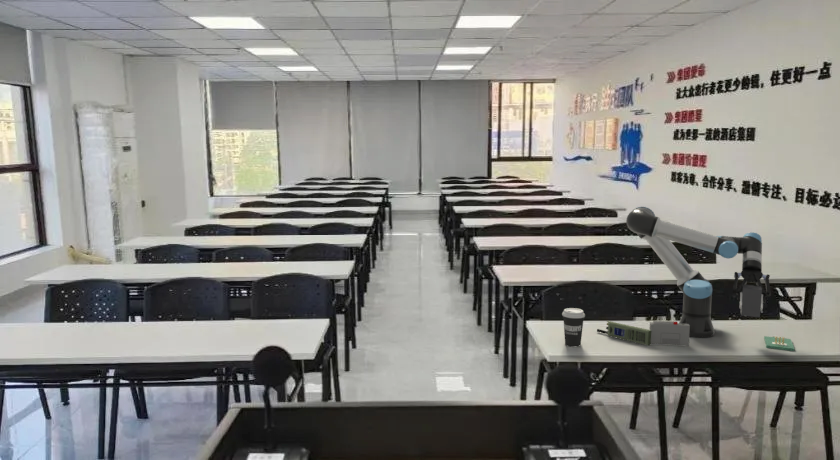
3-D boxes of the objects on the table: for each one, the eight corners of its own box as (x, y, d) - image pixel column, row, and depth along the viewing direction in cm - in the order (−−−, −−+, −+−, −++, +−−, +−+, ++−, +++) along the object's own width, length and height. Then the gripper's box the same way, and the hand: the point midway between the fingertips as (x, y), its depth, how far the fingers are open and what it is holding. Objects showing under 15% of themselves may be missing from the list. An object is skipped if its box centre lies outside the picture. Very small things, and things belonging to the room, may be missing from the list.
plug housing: (741, 315, 255) (743, 287, 253) (740, 311, 261) (742, 284, 260) (759, 317, 252) (762, 289, 250) (758, 313, 258) (760, 286, 256)
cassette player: (687, 344, 257) (688, 321, 256) (688, 346, 255) (689, 323, 253) (648, 342, 260) (649, 320, 259) (650, 344, 257) (651, 321, 256)
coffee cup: (556, 342, 260) (557, 309, 258) (574, 339, 264) (575, 306, 262) (570, 349, 252) (571, 314, 250) (588, 346, 255) (589, 311, 253)
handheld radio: (647, 346, 255) (595, 333, 273) (651, 345, 257) (598, 332, 275) (648, 331, 254) (595, 319, 272) (652, 329, 257) (599, 318, 275)
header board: (766, 347, 251) (767, 338, 251) (764, 338, 264) (764, 329, 263) (794, 351, 247) (794, 341, 246) (790, 341, 259) (791, 332, 259)
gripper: (776, 270, 263) (777, 315, 251) (726, 266, 272) (724, 309, 260) (778, 260, 258) (779, 306, 246) (727, 257, 267) (725, 300, 255)
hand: (751, 307), depth 253 cm, fingers closed on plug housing, 7 cm apart
